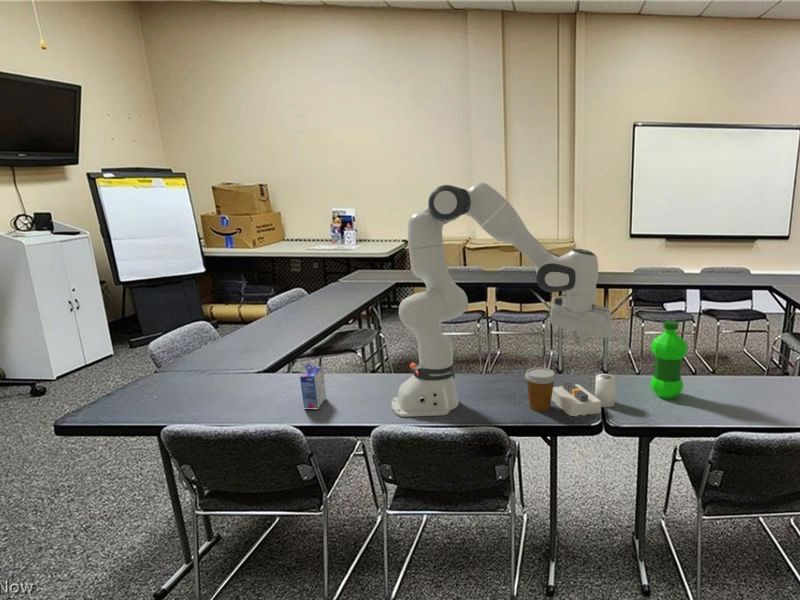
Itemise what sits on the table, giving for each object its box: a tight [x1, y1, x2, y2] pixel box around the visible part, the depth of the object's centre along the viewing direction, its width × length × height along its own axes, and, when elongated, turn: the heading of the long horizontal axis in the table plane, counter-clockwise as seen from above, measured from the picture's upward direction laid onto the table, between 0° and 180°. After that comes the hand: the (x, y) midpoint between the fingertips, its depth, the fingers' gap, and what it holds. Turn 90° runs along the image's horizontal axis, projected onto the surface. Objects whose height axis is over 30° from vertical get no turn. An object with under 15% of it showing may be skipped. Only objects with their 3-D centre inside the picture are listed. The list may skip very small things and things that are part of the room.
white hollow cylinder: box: [594, 373, 617, 408], centre depth 166 cm, size 6×6×9 cm
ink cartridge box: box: [299, 362, 327, 409], centre depth 176 cm, size 10×6×14 cm, turn 172°
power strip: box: [551, 380, 602, 417], centre depth 170 cm, size 10×22×6 cm, turn 10°
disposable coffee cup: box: [524, 367, 557, 412], centre depth 165 cm, size 10×10×12 cm
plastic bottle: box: [649, 320, 689, 400], centre depth 168 cm, size 10×10×25 cm
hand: (578, 344), depth 162 cm, fingers closed
